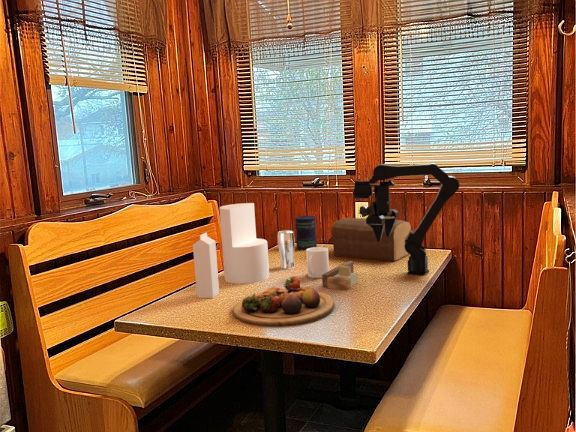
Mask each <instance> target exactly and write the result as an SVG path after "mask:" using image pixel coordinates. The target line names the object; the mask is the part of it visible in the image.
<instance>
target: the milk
mask: <svg viewBox="0 0 576 432" xmlns="http://www.w3.org/2000/svg"><path fill="white" fill-rule="evenodd" d="M216 247H217V245H216V240H214V239H212V238H211V237H209V236H208V232H207V231H206V232H204V233H202V234H200V235H199V240H197V241H196V242H195V243H193V244H192V248H193V259H194V260H193V264H194V272H195V273H194V275H195V286H196V298H199V299H214V298H215V297H216V296H217V295H219V294H220V287H219V286H220V284H219V273H218V270H219V269H218V257H217V248H216Z"/></svg>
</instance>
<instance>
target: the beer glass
mask: <svg viewBox="0 0 576 432" xmlns="http://www.w3.org/2000/svg"><path fill="white" fill-rule="evenodd" d="M295 245H296V238H295V233H294V230H289V229H285V230H280V231H277V246H278V247H277V248H278V251H279V257H280V269H281V270H293V269H295V268H296V265H295V261H294V259H295V258H294V256H295V255H294V254H295V248H296V246H295Z"/></svg>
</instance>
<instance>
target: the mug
mask: <svg viewBox="0 0 576 432" xmlns="http://www.w3.org/2000/svg"><path fill="white" fill-rule="evenodd" d="M305 253H306V256H305V257H306V271H307V277H309V278H312V279H322V275H323V274H325V273H326V272H328V271H330V266H329V262H330V261H329V248H328V247H323V246H317V247H313V248H308V249H306V251H305Z"/></svg>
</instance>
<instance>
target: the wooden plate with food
mask: <svg viewBox="0 0 576 432" xmlns="http://www.w3.org/2000/svg"><path fill="white" fill-rule="evenodd" d="M283 286H284V287H276V286H271V287H268V288H267V289H265V290H263V291H262V292H258V293H254V294H252V295H247V296H246V297H244V298H242V299H240V300H239V301H238V302H236V303H235V304H234V306H233V307H232V314H233V317H234V318H235V319H236V320H237V321H239V322H241V323H244V324H247V325H251V326H257V327H258V326H259V327H268V328H270V327H271V328H275V327H276V328H277V327H278V328H279V327H283V326H284V327H294V326H299V325H301V326H302V325H306V324H309V323H313V322H316V321H319V320H321V319H323V318H326V317H327V316H328V315H330V314H331V313H332V312H333V310H334V309H335V306H336V305H335V301H334V299H333V298H332V296H330V295H328V294H327V293H325V292H321V291H318V290H317V289H315V288H314V287H311V286H309V287H308V286H301V280H300V278H299V277H298V276H297V275H296V276H291V277H290V279H286V280H285V283H283Z"/></svg>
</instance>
